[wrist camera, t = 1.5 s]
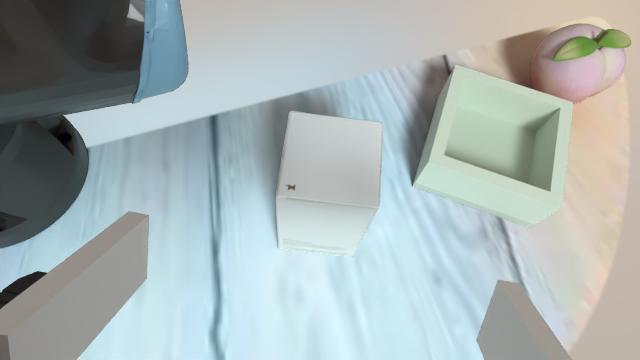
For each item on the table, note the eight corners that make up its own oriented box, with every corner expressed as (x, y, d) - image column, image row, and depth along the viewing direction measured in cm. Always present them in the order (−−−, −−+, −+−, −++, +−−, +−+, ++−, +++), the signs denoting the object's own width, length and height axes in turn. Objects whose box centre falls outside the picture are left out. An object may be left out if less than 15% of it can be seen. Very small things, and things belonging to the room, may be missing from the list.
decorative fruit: (553, 56, 52) (609, -11, 43) (598, 105, 49) (668, 44, 40) (495, 80, 50) (541, 14, 41) (538, 133, 47) (598, 75, 38)
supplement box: (353, 259, 39) (380, 212, 28) (276, 249, 39) (271, 197, 27) (359, 189, 42) (385, 120, 31) (287, 179, 42) (287, 107, 31)
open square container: (412, 186, 43) (428, 161, 38) (438, 96, 48) (455, 64, 43) (529, 227, 42) (562, 207, 37) (543, 131, 47) (573, 102, 42)
